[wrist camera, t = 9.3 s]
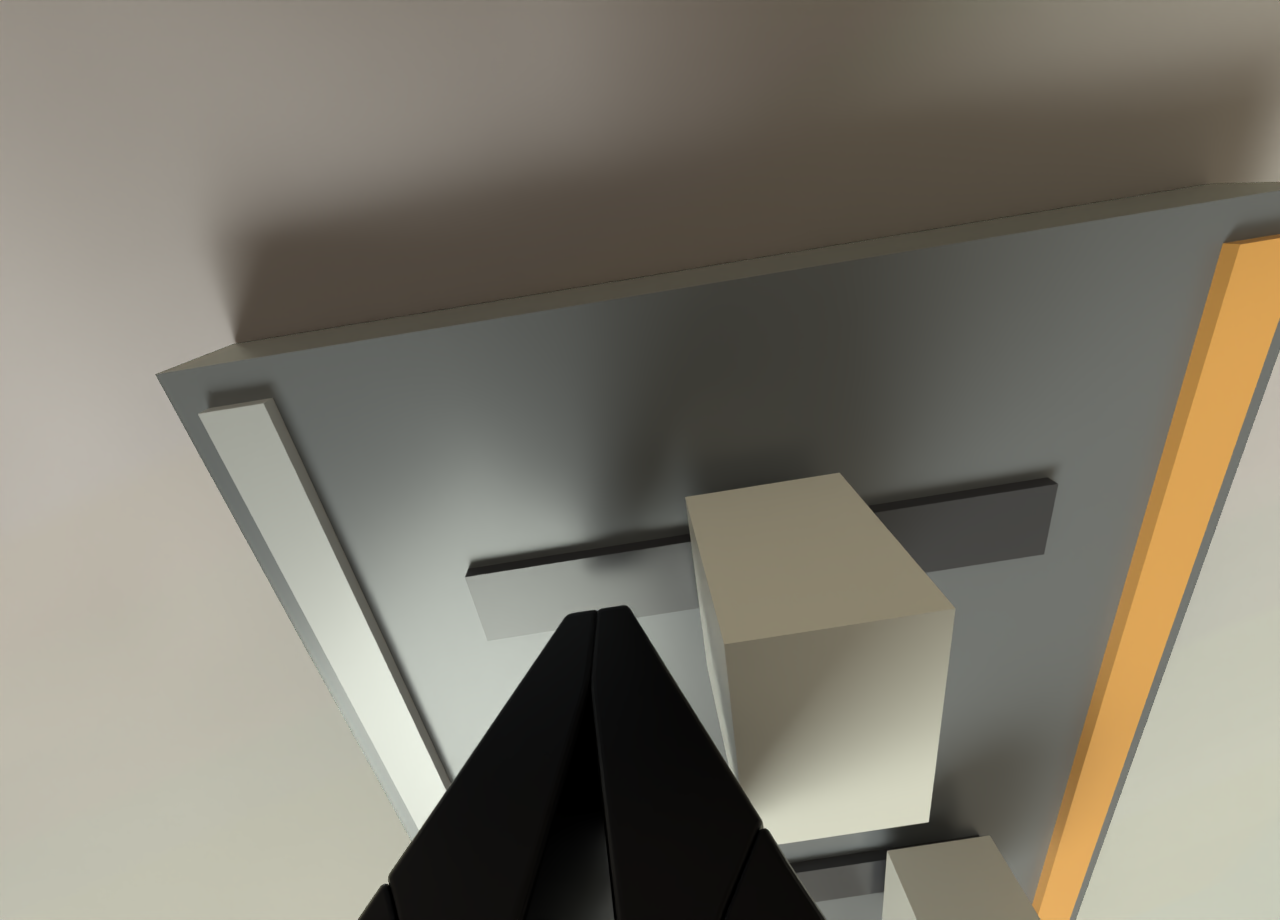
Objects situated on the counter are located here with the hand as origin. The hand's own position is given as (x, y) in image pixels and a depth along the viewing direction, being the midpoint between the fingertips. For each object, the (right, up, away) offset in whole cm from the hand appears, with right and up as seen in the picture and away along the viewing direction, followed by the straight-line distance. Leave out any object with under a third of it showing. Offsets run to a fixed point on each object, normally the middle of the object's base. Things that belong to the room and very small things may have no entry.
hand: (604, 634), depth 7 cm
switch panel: (+3, -6, +6) cm, 9 cm away
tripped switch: (+2, +1, +1) cm, 2 cm away
